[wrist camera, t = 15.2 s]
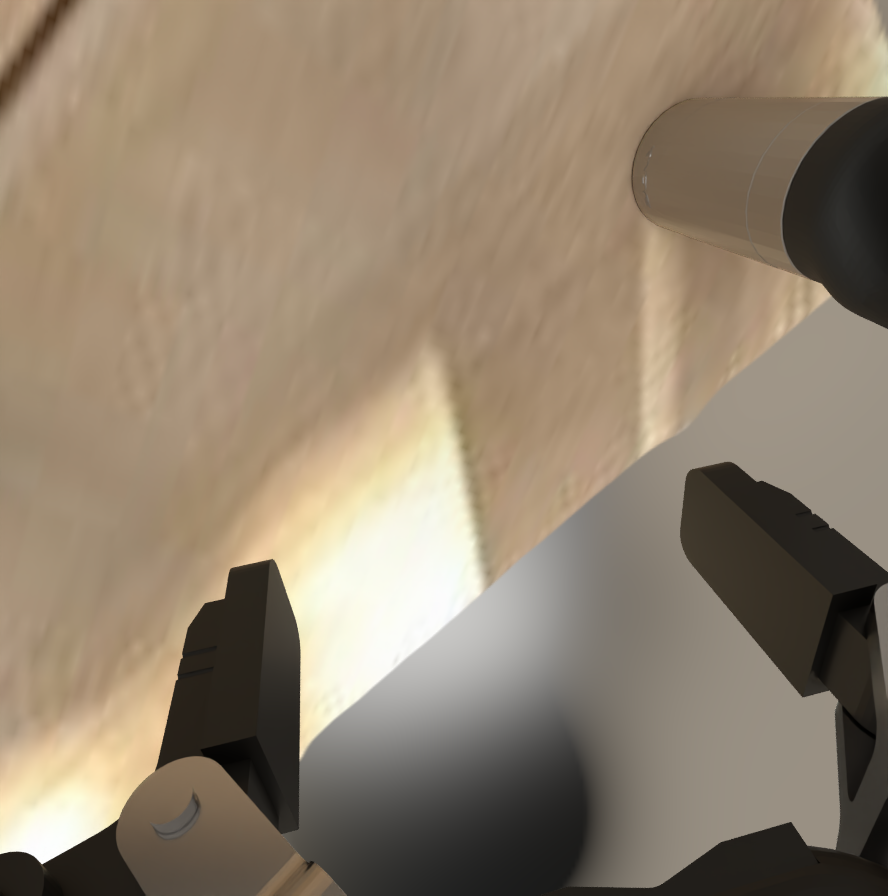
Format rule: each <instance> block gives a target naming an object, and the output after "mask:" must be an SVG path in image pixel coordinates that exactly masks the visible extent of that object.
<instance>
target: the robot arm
mask: <svg viewBox="0 0 888 896" xmlns="http://www.w3.org/2000/svg"><path fill="white" fill-rule="evenodd" d="M632 179H633V191H634V195H635V199H636V202H637V204H638V206H639V208H640V210H641V211H642V213H643V214H644V215H645V216H646V217H647V218H648V219H649V220H650V221H652V222H653V223H655V224H656V225H658V226H661V227H663V228H666V229H669V230H672V231H675V232H677V233H680V234H683V235H685V236H688V237H691V238H693V239H696V240H699V241H702V242H705V243H708V244H710V245H713V246H716V247H719V248H722V249H725V250H727V251H730V252H733V253H736V254H739V255H742V256H744V257H747V258H750V259H753V260H756V261H758V262H761V263H764V264H767V265H770V266H773V267H775V268H779V269H782V270H785V271H788V272H790V273H793V274H796V275H799V276H802V277H805V278H807V279H810V280H813V281H816V282H819V283H822V284H823V286H824V287H825V288H826V289H827V291H828V292H829V293H830V294H831V295H832V297H833V298H834V299H835V300H836V301H837V302H838V303H840V304H841V305H842V306H844V307H845V308H846V309H848V310H850V311H851V312H853V313H855V314H857V315H859V316H861V317H863V318H865V319H867V320H870V321H872V322H874V323H876V324H878V325H880V326H883V327H885V328H887V329H888V97H815V98H696V99H689V100H686V101H684V102H681V103H678V104H676V105H674V106H673V107H671V108H670V109H668V110H667V111H665V112H664V113H663V114H662V115H661V116H660V117H659V118H658V119H657V120H656V121H655V122H654V123H653V124H652V126H651V127H650V128H649V130H648V131H647V133H646V134H645V136H644V138H643V140H642V142H641V144H640V146H639V148H638V151H637V154H636V157H635V161H634V167H633V174H632ZM680 538H681V543H682V547H683V550H684V552H685V555H686V556H687V558H688V560H689V561H690V563H691V564H692V565H693V566H694V568H695V569H696V570H697V571H698V573H699V574H700V575H701V576H702V577H703V579H704V580H705V581H706V582H707V583H708V584H709V586H710V587H711V588H712V589H713V590H714V592H715V593H716V594H717V595H718V597H719V598H720V599H721V600H722V601H723V603H724V604H725V605H726V606H727V607H728V608H729V610H730V611H731V612H732V613H733V615H734V616H735V617H736V618H737V619H738V621H739V622H740V623H741V624H742V625H743V626H744V628H745V629H746V630H747V631H748V632H749V634H750V635H751V636H752V637H753V638H754V640H755V641H756V642H757V643H758V644H759V646H760V647H761V648H762V649H763V651H765V653H766V654H767V655H768V657H769V658H770V659H771V660H772V661H773V662H774V664H775V665H776V666H777V667H778V669H779V670H780V671H781V672H782V673H783V674H784V676H785V677H786V678H787V679H788V681H789V682H790V683H791V684H792V685H793V686H794V688H795V689H796V690H797V691H798V693H799V694H800V695H801V696H802V697H806V696H810V695H814V694H817V693H821V692H825V691H829V690H830V692H831V693H832V694H833V695H834V696H835V697H836V698H837V699H838V703H837V706H836V709H835V727H836V745H837V764H838V780H839V781H838V782H839V801H840V824H839V833H838V838H837V844H836V850H833V849H827V848H821V847H814V846H807V845H806V843H805V842H804V841H803V839H802V838H801V836H800V834H799V833H798V832H797V830H796V829H795V827H794V826H793V824H792V823H791V822H789V823H786V824H782V825H779V826H776V827H772V828H769V829H765V830H762V831H758V832H755V833H751V834H748V835H745V836H741V837H738V838H734V839H731V840H728V841H724V842H721V843H719V844H718V845H716V846H715V847H714V848H712V849H711V850H709V851H708V852H707V853H705V854H704V855H702V856H701V857H700V858H698V859H697V860H695V861H694V862H693V863H691V864H690V865H688V866H687V867H686V868H684V869H683V870H681V871H680V872H679V873H677V874H676V875H674V876H673V877H672V878H670V879H669V880H668V881H666V882H665V883H663V884H661V885H660V886H657V887H654V888H613V887H611V888H610V887H566V888H562V889H559V890H556V891H552V892H549V893H545V894H542V895H538V896H888V572H887V571H885V570H884V569H883V568H882V567H881V566H879V565H878V564H877V563H876V562H874V561H873V560H872V559H871V558H869V557H868V556H867V555H866V554H865V553H863V552H862V551H861V550H860V549H858V548H857V547H856V546H855V545H853V544H852V543H851V542H850V541H848V540H847V539H846V538H845V537H843V536H842V535H841V534H840V533H839V532H837V531H836V530H835V529H834V528H832V529H830V528H829V525H828V524H827V523H826V522H825V521H823V519H821V518H820V517H819V516H817V515H816V514H812V512H811V510H810V509H809V508H808V507H806V506H805V505H804V504H803V503H802V502H800V501H799V500H798V499H797V498H795V497H794V496H793V495H792V494H790V493H788V492H786V491H784V490H781V489H779V488H777V487H775V486H773V485H770V484H768V483H766V482H764V481H759V482H756V481H755V480H754V479H752V478H751V477H750V476H749V475H748V474H746V473H745V472H744V471H743V470H742V469H740V468H739V467H738V466H737V465H735V464H734V463H732V462H724V463H719V464H715V465H710V466H706V467H701V468H696V469H692V470H690V471H689V472H688V474H687V477H686V481H685V491H684V500H683V509H682V518H681V528H680ZM182 655H183V658H182V659H181V661H180V666H179V670H178V680H176V683H175V688H174V692H173V697H172V701H171V706H170V710H169V715H168V719H167V724H166V728H165V733H164V737H163V741H162V746H161V750H160V755H159V759H158V763H157V767H156V770H155V772H154V773H152V774H151V775H150V776H148V777H147V778H146V779H145V780H144V781H143V782H142V783H141V784H140V785H139V786H138V787H137V788H136V790H135V791H134V792H133V793H132V795H131V796H130V798H129V799H128V800H127V802H126V804H125V806H124V808H123V810H122V812H121V815H120V817H119V819H118V820H117V821H115V822H114V823H113V824H111V825H110V826H109V827H107V828H105V829H104V830H102V831H101V832H99V833H97V834H96V835H94V836H92V837H90V838H89V839H87V840H85V841H83V842H81V843H80V844H78V845H76V846H74V847H73V848H71V849H69V850H67V851H65V852H64V853H62V854H60V855H58V856H56V857H55V858H53V859H51V860H49V861H48V862H46V863H44V864H41V863H40V862H39V861H38V860H37V859H36V858H35V857H34V856H32V855H30V854H28V853H24V852H8V853H3V854H0V896H347V895H346V894H345V893H344V892H343V891H342V890H341V889H340V888H339V886H338V885H337V884H336V883H335V882H334V881H333V880H332V879H331V877H330V876H329V875H328V874H327V873H326V872H325V871H324V870H323V869H322V868H321V867H319V866H318V865H317V864H316V863H314V862H312V861H311V862H310V863H308V862H306V861H305V860H304V859H303V858H302V857H301V856H300V855H299V854H298V853H297V852H296V851H295V849H294V848H293V847H292V846H291V845H290V844H289V843H288V841H287V840H286V839H285V838H284V837H283V836H282V835H281V834H283V833H287V832H291V831H295V830H298V829H299V749H300V640H299V633H298V628H297V623H296V620H295V616H294V614H293V611H292V608H291V605H290V602H289V599H288V596H287V593H286V590H285V587H284V584H283V581H282V578H281V576H280V573H279V570H278V567H277V565H276V563H275V561H274V560H273V559H271V560H266V561H262V562H257V563H252V564H248V565H243V566H239V567H234V568H231V569H230V572H229V576H228V582H227V588H226V594H225V599H222V600H218V601H213V602H209V603H205V604H204V605H203V607H202V608H201V610H200V611H199V613H198V614H197V616H196V617H195V619H194V620H193V621H192V623H191V624H190V626H189V627H188V630H187V634H186V639H185V643H184V648H183V652H182Z"/></svg>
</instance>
